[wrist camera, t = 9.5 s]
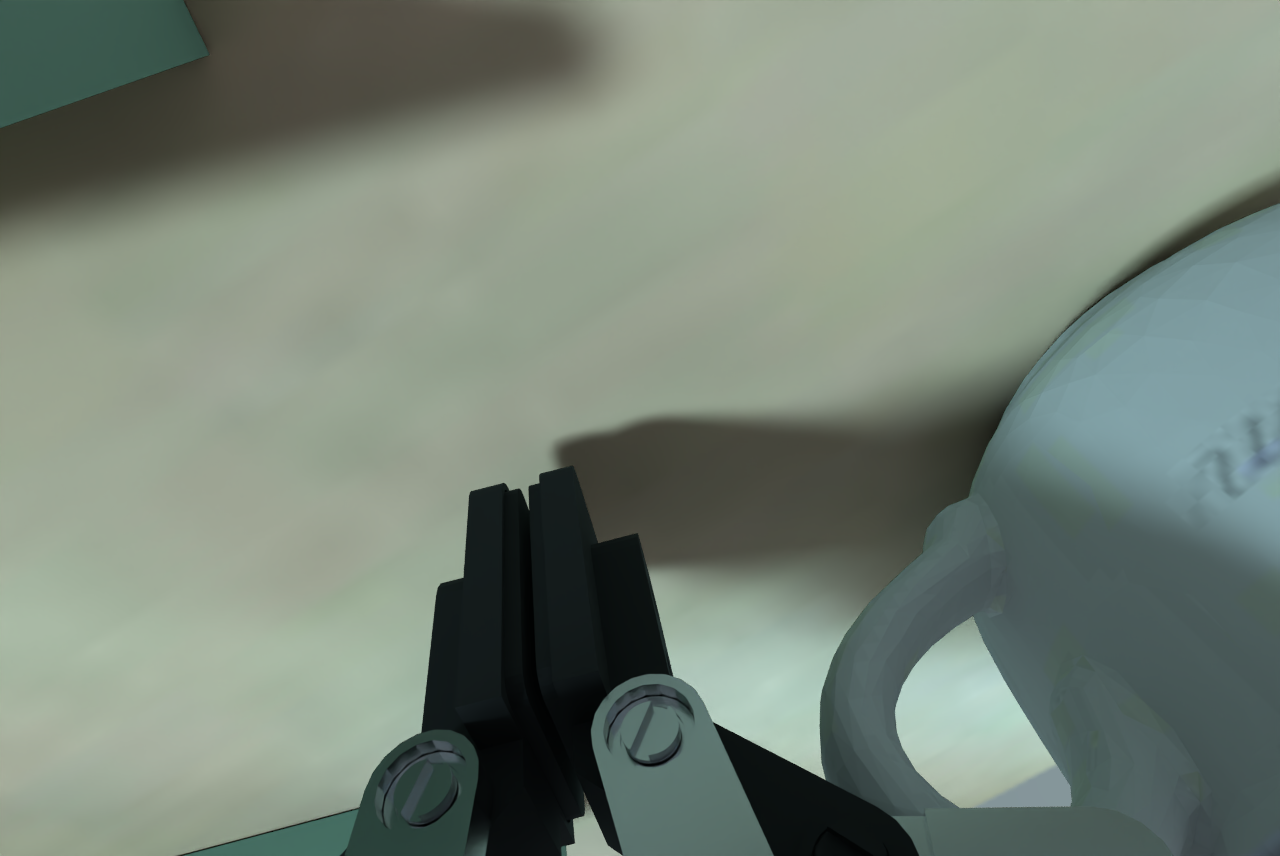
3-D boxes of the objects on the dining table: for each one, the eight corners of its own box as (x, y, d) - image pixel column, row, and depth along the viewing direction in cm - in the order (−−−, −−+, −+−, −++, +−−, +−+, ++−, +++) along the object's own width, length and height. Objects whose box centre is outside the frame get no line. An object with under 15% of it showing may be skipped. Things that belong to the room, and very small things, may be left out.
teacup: (1582, 141, 12) (2877, 369, 6) (1235, 604, 18) (1665, 988, 11) (792, 68, 10) (1434, 325, 3) (685, 635, 15) (822, 1152, 9)
